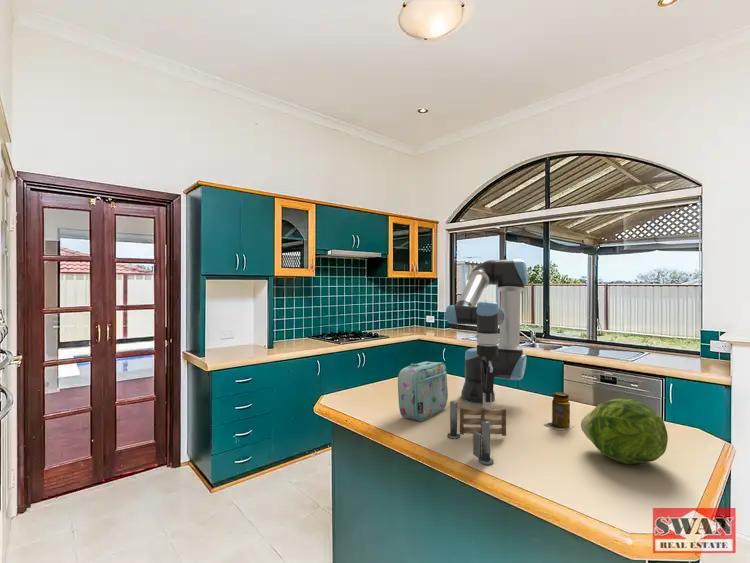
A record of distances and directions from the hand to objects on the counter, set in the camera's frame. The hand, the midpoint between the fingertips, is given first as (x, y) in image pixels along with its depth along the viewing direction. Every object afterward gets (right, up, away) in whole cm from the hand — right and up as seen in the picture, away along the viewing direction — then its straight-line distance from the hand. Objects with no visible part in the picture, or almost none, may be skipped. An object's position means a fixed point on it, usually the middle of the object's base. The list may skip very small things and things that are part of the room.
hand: (487, 410), depth 142 cm
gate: (-3, -7, -6) cm, 9 cm away
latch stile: (-7, -8, -24) cm, 26 cm away
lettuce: (+34, -8, -22) cm, 41 cm away
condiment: (+29, -8, +6) cm, 30 cm away
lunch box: (-20, -8, +19) cm, 29 cm away
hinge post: (-13, -8, -5) cm, 16 cm away
